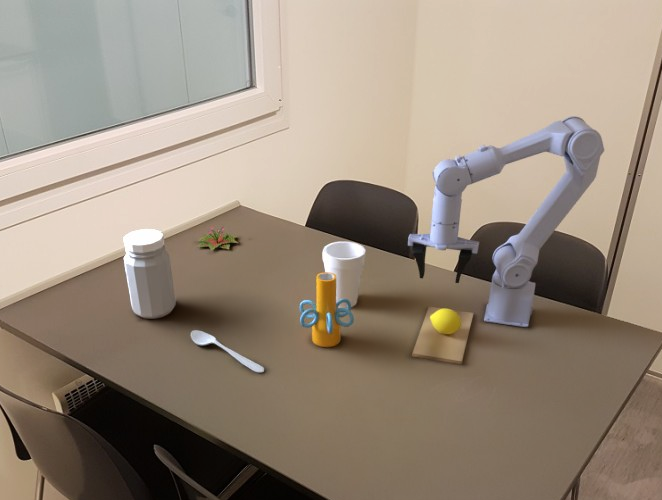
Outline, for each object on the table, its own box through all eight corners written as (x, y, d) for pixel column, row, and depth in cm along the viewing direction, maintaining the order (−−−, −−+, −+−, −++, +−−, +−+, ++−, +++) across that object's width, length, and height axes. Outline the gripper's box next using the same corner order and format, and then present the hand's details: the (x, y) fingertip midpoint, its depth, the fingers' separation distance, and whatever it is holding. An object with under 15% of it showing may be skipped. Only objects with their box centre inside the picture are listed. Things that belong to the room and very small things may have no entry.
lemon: (464, 331, 148) (467, 309, 146) (454, 342, 145) (457, 320, 142) (434, 322, 152) (436, 300, 149) (424, 333, 148) (426, 311, 145)
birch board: (473, 316, 155) (473, 312, 155) (461, 364, 139) (462, 361, 139) (428, 309, 158) (428, 306, 158) (412, 356, 142) (412, 353, 141)
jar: (123, 315, 156) (110, 241, 146) (148, 296, 163) (137, 224, 154) (160, 324, 153) (149, 249, 143) (184, 303, 160) (175, 231, 151)
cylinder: (362, 334, 149) (364, 271, 141) (343, 359, 141) (344, 294, 133) (311, 322, 153) (310, 260, 145) (289, 345, 145) (287, 281, 137)
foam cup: (359, 313, 156) (361, 261, 149) (319, 309, 158) (319, 257, 151) (366, 293, 164) (368, 243, 157) (327, 290, 166) (327, 239, 159)
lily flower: (189, 251, 184) (187, 235, 182) (203, 233, 194) (201, 217, 192) (233, 254, 182) (231, 238, 180) (244, 236, 192) (243, 220, 190)
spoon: (200, 332, 150) (199, 326, 149) (270, 367, 138) (270, 360, 138) (185, 340, 147) (184, 334, 146) (255, 377, 136) (255, 370, 135)
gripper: (407, 223, 142) (403, 282, 149) (479, 231, 138) (471, 291, 145) (413, 210, 147) (408, 268, 155) (482, 217, 144) (475, 276, 151)
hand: (439, 278), depth 150 cm, fingers open, 7 cm apart
